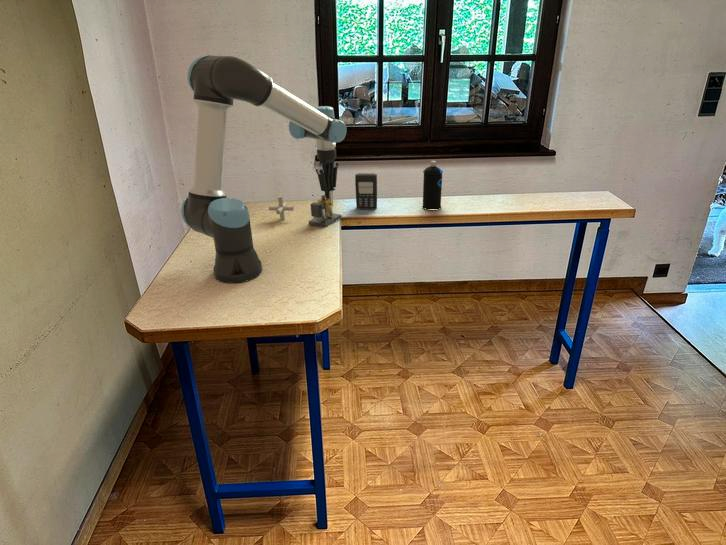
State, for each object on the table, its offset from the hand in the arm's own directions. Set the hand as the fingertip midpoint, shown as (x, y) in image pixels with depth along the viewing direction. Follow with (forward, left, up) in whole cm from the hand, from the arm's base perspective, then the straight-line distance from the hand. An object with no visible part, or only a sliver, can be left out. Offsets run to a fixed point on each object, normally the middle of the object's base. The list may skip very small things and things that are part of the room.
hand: (329, 206), depth 196 cm
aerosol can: (+29, -33, -5) cm, 45 cm away
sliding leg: (-4, -1, -3) cm, 5 cm away
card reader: (+16, -8, -5) cm, 19 cm away
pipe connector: (-12, +16, -5) cm, 20 cm away
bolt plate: (-5, -1, -5) cm, 7 cm away
